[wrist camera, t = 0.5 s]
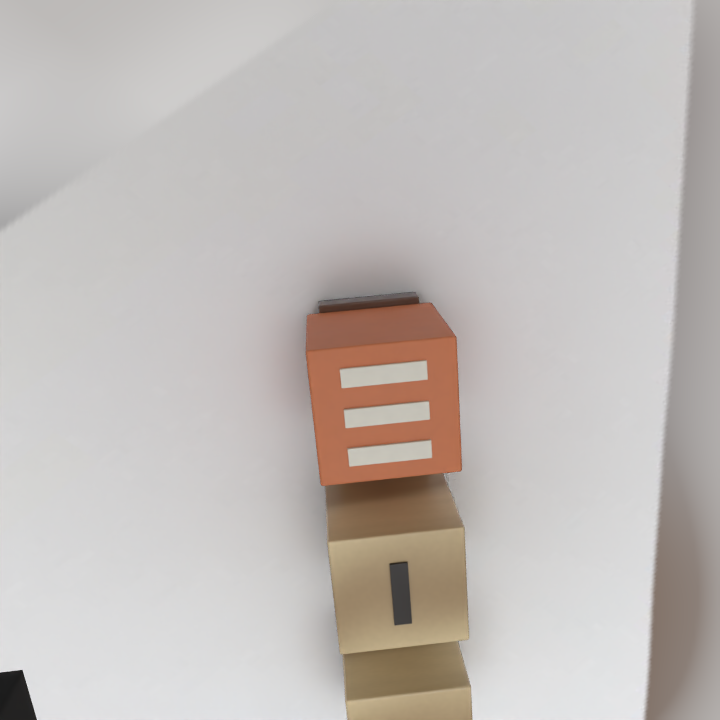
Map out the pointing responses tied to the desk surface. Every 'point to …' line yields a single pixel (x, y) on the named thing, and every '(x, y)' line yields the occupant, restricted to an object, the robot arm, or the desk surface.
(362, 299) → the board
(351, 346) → the striped orange block
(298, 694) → the desk surface
